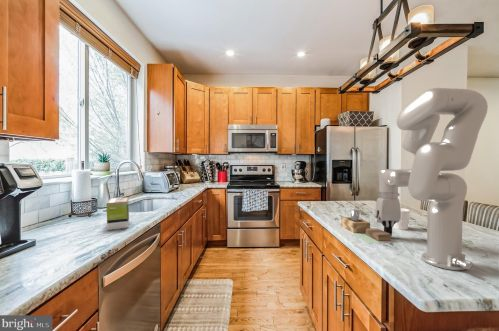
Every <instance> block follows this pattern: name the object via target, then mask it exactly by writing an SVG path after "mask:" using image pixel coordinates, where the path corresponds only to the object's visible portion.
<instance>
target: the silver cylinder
mask: <svg viewBox="0 0 499 331" xmlns="http://www.w3.org/2000/svg"><path fill="white" fill-rule="evenodd" d="M350 217H351V221H353V222H359V218H360V210H359V209H351V210H350Z"/></svg>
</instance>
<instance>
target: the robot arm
mask: <svg viewBox="0 0 499 331" xmlns="http://www.w3.org/2000/svg"><path fill="white" fill-rule="evenodd" d="M488 107H489V106H488V101H487V99H486V97H485V95H483V94H482V93H480V92H479V91H475V90H472V89H467V88H448V87H447V88H446V87H434V88H430V89H428V90H426V91H423V92H422V93H421V94H419V95H418V96H417V97H415V99H413V100H412V101H410V103H408V104H407V105H405V107H404V108H402V109H401V111H400V112H399V113H398V115H397V118H396V126H397V128H399V129H400V130H402V131H406V134H405V136H404V139H403V141H402V144H401V147H402V148H403V149H404V150H405V151H407V152H409V153H411V154H413V156H414V158H413V162H412V167H411V168H409V169H408V168H406V169H405V168H401V169H393V168H392V169H391V168H390V169H389V168H384V169H380V170H379V175H378V177H379V179H378V181H379V183H378V187H379V188H378V191H379V192H378V197H377V199H376V202H375V209H374V210H375V211H374V218H375V219H376V223H379V224H382V226H383V231H385V232H387V233H389V234H391V237H392V236H393V227H394V224H395V223H398V222H399V219H400V217H401V209H400V208H401V203H400V199H399V197H400V193H399V188H404V187H405V188H407V187H408V188H407V189H408V191H409V194H410V196H411V197H412V199H415V200H416V201H417V200H418V201H422V202H430V203H429V204H428V207H427V213H426V215H427V217H426V221H427V222H426V223H427V224H426V252H423V253H422V254H421V260H422V261H424V262H425V263H427V264H428V265H431V266H434V267H437V268H441V269H444V270H451V271H463V270H464V271H465V270H470V269H471V267H473V265H474V264H473V262H472V261H469V260H466V255H465V254H464V253H462V252H463V219H464V217H463V215H464V214H463V213H464V205H465V200H466V196H467V192H468V186H467V183H466V181H465V179H464V178H463V177H462V176H460V175H458V174H455V173H452V172H453V171H461V170H463V169H466V168H467V167H468V165H469V164H470V161H471V159H472V155H473V153H474V150H475V146H476V143H477V141H478V135H479V133H480V130H481V127H482V126H483V123H484V121H485V118H486V117H487V113H488ZM441 115H443V116H444V115H450V116H451V115H452V116H453V118H452V119H451V120H450V121H449V122H448V123H447V125H446V126H445V128H444V131H443V135H442V137H441V140H440V141H439V142H438V141H434V142H432V138H433V136H434V134H435V132H436V129H437V127H438V125H439V122H440V119H441ZM445 171H450V172H445ZM451 171H452V172H451Z"/></svg>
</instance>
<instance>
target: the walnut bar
mask: <svg viewBox="0 0 499 331" xmlns="http://www.w3.org/2000/svg"><path fill="white" fill-rule="evenodd" d="M365 234H366V235H367V236H369V237H371V238H373V239H375V240H376V241H391V239H392V236H391V234H389V233H387V232H385V231H384V230H382V229H380V228H378V227H377V228H376V227H375V228H370V229H366V232H365Z"/></svg>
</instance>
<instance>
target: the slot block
mask: <svg viewBox="0 0 499 331" xmlns="http://www.w3.org/2000/svg"><path fill="white" fill-rule="evenodd" d="M340 227H341V228H343V229H345V230H347V231H348V232H351V233H353V234H365V233H366V229H371V222H370V221H367V220H365V219H362V218H360V217H359V222H353V221H351V216H345V217H343V216H342V217H340Z"/></svg>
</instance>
